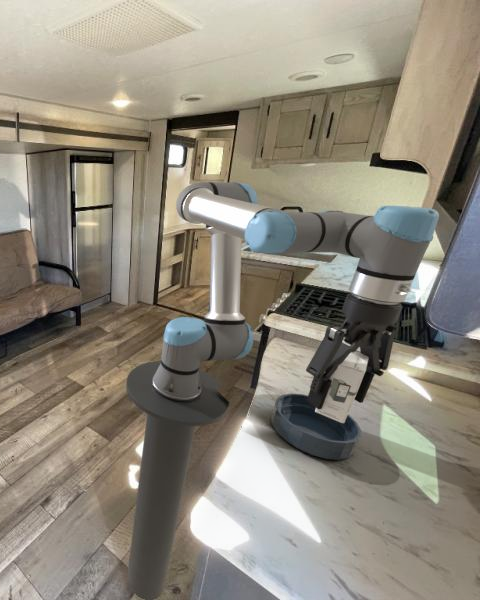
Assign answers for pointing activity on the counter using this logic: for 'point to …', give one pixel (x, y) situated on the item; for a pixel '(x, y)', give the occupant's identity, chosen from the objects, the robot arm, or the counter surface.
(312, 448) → the bowl
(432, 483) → the counter surface
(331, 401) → the ink box
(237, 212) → the robot arm
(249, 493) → the counter surface
